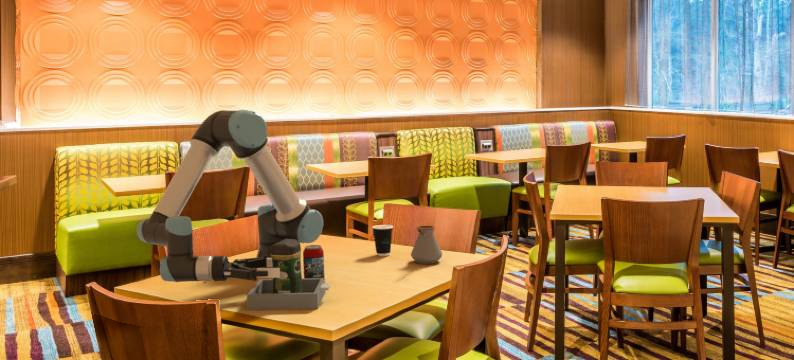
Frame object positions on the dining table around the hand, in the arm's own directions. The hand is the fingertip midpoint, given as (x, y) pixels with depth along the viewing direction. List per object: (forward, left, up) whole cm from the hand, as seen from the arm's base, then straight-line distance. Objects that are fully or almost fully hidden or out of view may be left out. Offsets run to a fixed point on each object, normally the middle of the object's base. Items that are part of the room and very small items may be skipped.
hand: (284, 267), depth 225 cm
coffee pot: (-45, +42, -11) cm, 63 cm away
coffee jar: (-1, +1, -11) cm, 11 cm away
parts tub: (-1, +2, -10) cm, 11 cm away
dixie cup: (-64, +27, -11) cm, 70 cm away
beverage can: (-23, +6, -11) cm, 26 cm away
